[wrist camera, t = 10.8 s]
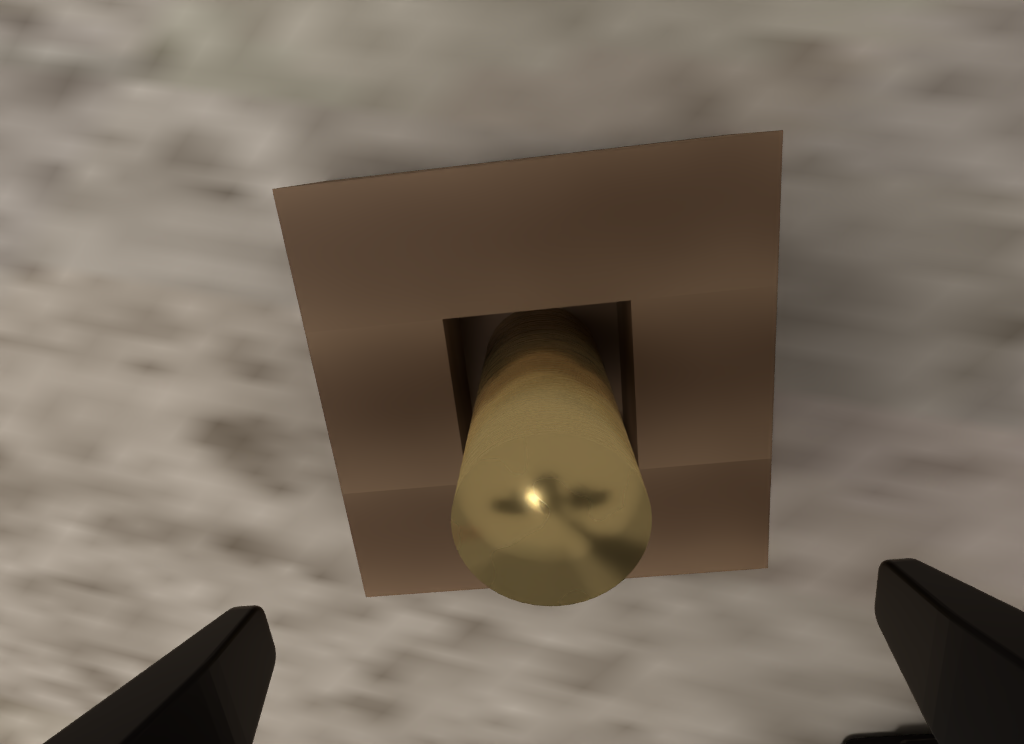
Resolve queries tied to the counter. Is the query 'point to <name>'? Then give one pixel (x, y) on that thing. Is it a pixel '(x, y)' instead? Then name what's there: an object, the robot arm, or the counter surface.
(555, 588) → the brass pin
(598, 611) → the counter surface
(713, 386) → the walnut socket block
